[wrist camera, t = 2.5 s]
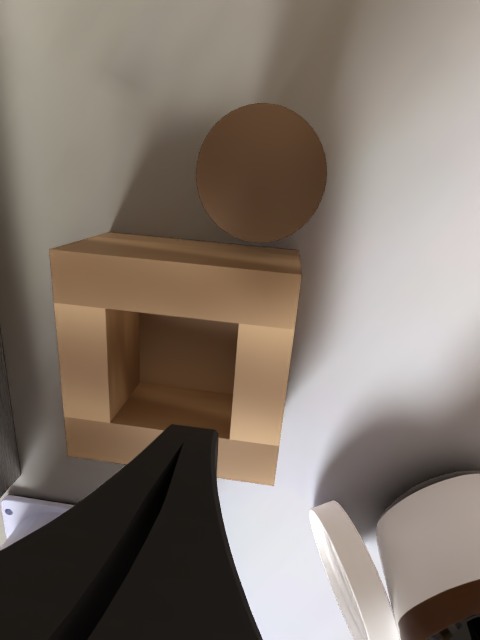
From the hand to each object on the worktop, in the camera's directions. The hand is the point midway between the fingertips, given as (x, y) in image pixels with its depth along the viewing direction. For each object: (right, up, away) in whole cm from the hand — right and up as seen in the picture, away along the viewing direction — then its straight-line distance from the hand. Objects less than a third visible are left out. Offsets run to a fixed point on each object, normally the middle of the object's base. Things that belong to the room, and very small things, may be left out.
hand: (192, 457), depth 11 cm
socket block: (-1, +3, +9) cm, 10 cm away
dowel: (+3, +10, +6) cm, 12 cm away
